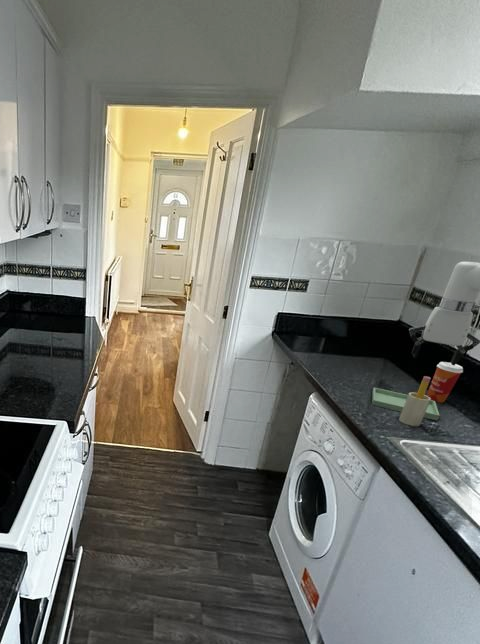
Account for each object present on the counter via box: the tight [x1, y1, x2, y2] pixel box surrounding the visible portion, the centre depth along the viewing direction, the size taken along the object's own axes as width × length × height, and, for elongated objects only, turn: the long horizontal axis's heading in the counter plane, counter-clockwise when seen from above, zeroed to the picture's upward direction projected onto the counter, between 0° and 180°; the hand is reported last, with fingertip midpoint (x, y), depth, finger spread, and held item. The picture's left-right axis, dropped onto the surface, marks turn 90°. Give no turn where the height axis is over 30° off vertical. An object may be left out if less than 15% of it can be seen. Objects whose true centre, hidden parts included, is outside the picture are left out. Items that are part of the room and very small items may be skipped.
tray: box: [371, 387, 441, 422], centre depth 149 cm, size 19×14×2 cm
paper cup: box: [426, 361, 464, 403], centre depth 153 cm, size 8×8×14 cm
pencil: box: [416, 375, 432, 399], centre depth 133 cm, size 2×2×16 cm
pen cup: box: [398, 391, 431, 427], centre depth 135 cm, size 6×6×10 cm
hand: (433, 360), depth 128 cm, fingers open, 9 cm apart
